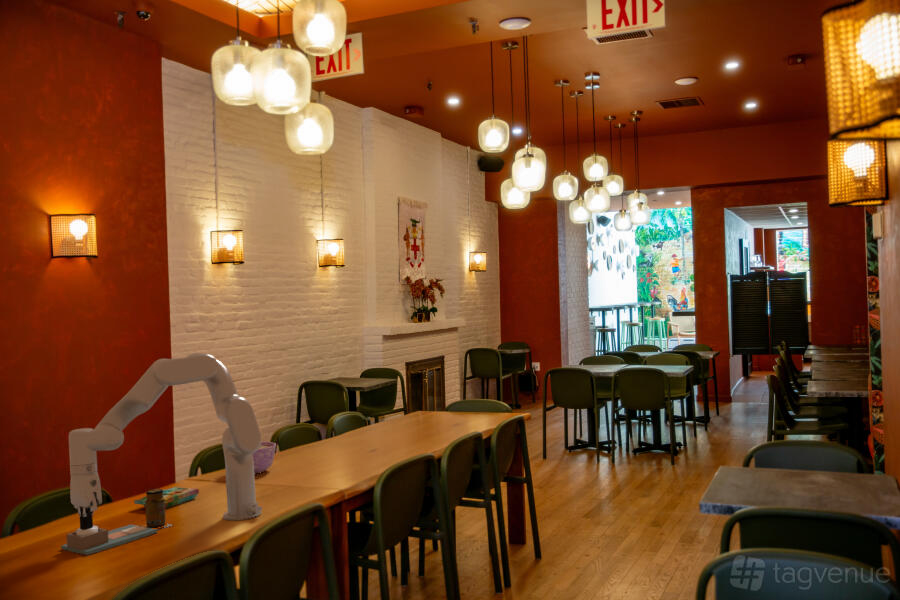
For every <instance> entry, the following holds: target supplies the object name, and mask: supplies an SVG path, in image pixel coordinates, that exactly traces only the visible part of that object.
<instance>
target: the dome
mask: <svg viewBox="0 0 900 600" xmlns="http://www.w3.org/2000/svg"><path fill="white" fill-rule="evenodd" d="M98 528H99V526H97V525H93V527H92V528H89V529H86V530H83V529H80V527H79V528H77V529H76V530H75V532H76V534H77V535H78V536H82V537H83V536H87V535H90V534H93V533H97V532H98Z"/></svg>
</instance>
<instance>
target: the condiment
mask: <svg viewBox="0 0 900 600" xmlns="http://www.w3.org/2000/svg"><path fill="white" fill-rule="evenodd" d="M163 490H164V489H162V488H154V489H149V490H147V491H146V495H145V497H147V499H146V501H145V502H146V507H145V522H146V524H145V525H141V526H142V527H143V526H146V525H147V528H158V527H162V526H164V525H165V523H166V509H165V499H164V497H163ZM169 526H170V527H173V526H174V525H173V524H170V523H167V526H164V528H163V529H166V528H170V527H169Z"/></svg>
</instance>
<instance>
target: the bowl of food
mask: <svg viewBox="0 0 900 600" xmlns="http://www.w3.org/2000/svg"><path fill="white" fill-rule="evenodd" d="M276 447H277V443H275V442H271V441H270V442H269V441H261V445H260V447H259V449H258V450H257V451H256V452H255V453H254V454H253V460H254V475H257V474H256V473H260V472H263V471H266V470H268V469H269V468H270V467H271V466H272V465H273V462H274V459H275V458H274V457H275V453H276ZM263 473H264V472H263ZM260 474H261V473H260Z"/></svg>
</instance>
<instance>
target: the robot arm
mask: <svg viewBox="0 0 900 600" xmlns="http://www.w3.org/2000/svg"><path fill="white" fill-rule="evenodd" d="M195 382H203V383H204V384H205V385H206V387H207V389H208V392H209V395H210V397H211V401H212V403H213V407H214V409H215V415H216V416H217V418H218V419H219V421H221V422H223V423H225V424H227V427H226V429H224V431H223V434H222V436H221V445H222V450H223V456H224V464H225V466H224V467H225V468H224V469H225V486H226V507H227V511H225V512H224V513H223V514H222V517H223V520H227V521H243V519H245V520H249V519H248V518H250V519H253V518H256V517H258V516H260V515H261V514H262V510H263V507H262V506H258V505H259V504H258V503H259V502H258V501H257V499H256V485H255V484H256V483H255V482H256V481H255V474H254V460H253V454H254V453H255V452H256V451H257V450H258V449H259V447H260V445H261V442H262V434H261V430H260V427H259V424H258V421H257V418H256V414H255V412H254V409H253V407H252V405H251V403H250V402H249V400H247V399H246V398H245V397H242V396H240V395H239V394H238V391H237V388H236V385H235V383H234V380H233V377H232V375H231V373H230V371H229V370H228V368H227V367H226V366H225V365H224V364H223V362H221V361H220V360H219V359H217V358H216V357H214V356H213V355H212V354H209V353H202V352H193V353H191V354H188V355H187V356H186V357H179V358H159V359H157V360H155V361H154V362H152V364H151V365H150V366H149V368H148V369H147V370H146V371H145V373H143V375H142V376H141V377H140V378H139V379H138V381H137V382H136V383H135V384H134V385H133V386H132V388H131V389H130V390H129V391H128V392H127V393H126V394H125V395H124V396H122V398H121V399H120V400H118V402H116V404H114V406H113V407H111V408H110V409H109V410H108V412H107V413H106V414H105V415H104V416H103V418H102V419H101V420H100V421H99V422H98V423H97V425H96V426H95V427H94V428H91V427H90V428H89V427H84V428H83V427H82V428H76V429H72V430H70V431H69V433H68V450H69V451H68V453H69V471H70V473H69V474H70V484H69V487H70V488H69V490H70V491H69V495H70V503H71V504H72V505H73V508H74V509H76V510H77V513H78V516H79V528H80V529H83V530H86V529H89V528H92V527H93V526H94V521H93V515H94V512H95V511H98V505H102V503H103V496H102V488H101V487H102V486H101V479H100V476H99V472H98V457H97V456H98V455H97V454H98V453H97V452H99V451H100V452H101V451H113V450H117V449H119V448H120V446H122V445H123V443H124V440H125V435H124V432H123V430H124V429H125V428H127V426H128V425H129V424H130V422H132V421H133V420H134V419H135V418H137V417H138V416H139V415H142V414H144V413H146V412H147V411H149V410H150V409H151V408H152V407H153V406H154V404H155V403H156V402H157V400H159V398H160V397H161V396H162V395H163V393H165V391H166V390H167V389H168V387H169V386H170V387H171V386H178V385H185V384H190V383H191V384H192V383H195ZM255 516H256V517H255ZM252 517H253V518H252Z"/></svg>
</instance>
